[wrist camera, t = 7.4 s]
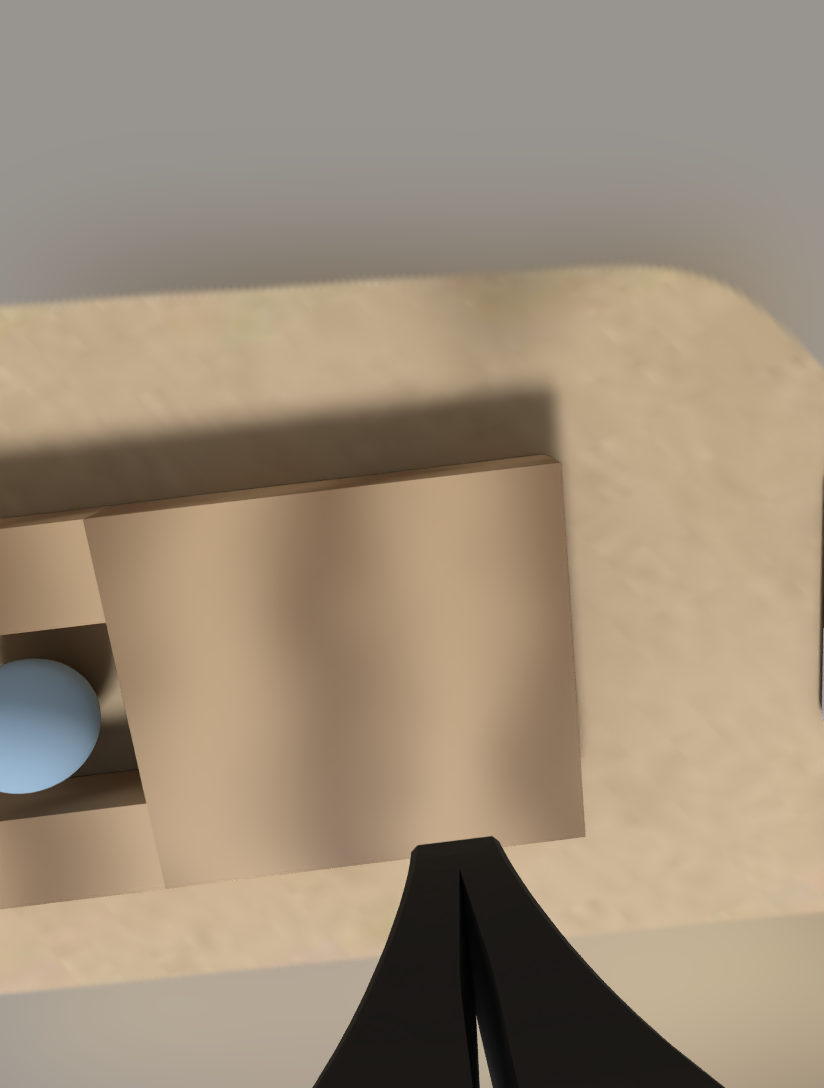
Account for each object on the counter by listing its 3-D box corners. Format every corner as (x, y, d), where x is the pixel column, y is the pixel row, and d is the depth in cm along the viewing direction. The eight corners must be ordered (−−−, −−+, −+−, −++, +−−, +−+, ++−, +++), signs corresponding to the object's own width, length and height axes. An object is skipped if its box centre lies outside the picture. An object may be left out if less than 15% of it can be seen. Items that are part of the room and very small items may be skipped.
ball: (-75, 671, 20) (63, 630, 22) (-41, 788, 20) (89, 737, 23) (-51, 706, 17) (104, 655, 19) (-13, 840, 18) (131, 776, 20)
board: (544, 454, 20) (576, 469, 17) (568, 797, 23) (600, 870, 20) (-234, 546, 20) (-359, 580, 17) (-123, 883, 23) (-211, 972, 19)
